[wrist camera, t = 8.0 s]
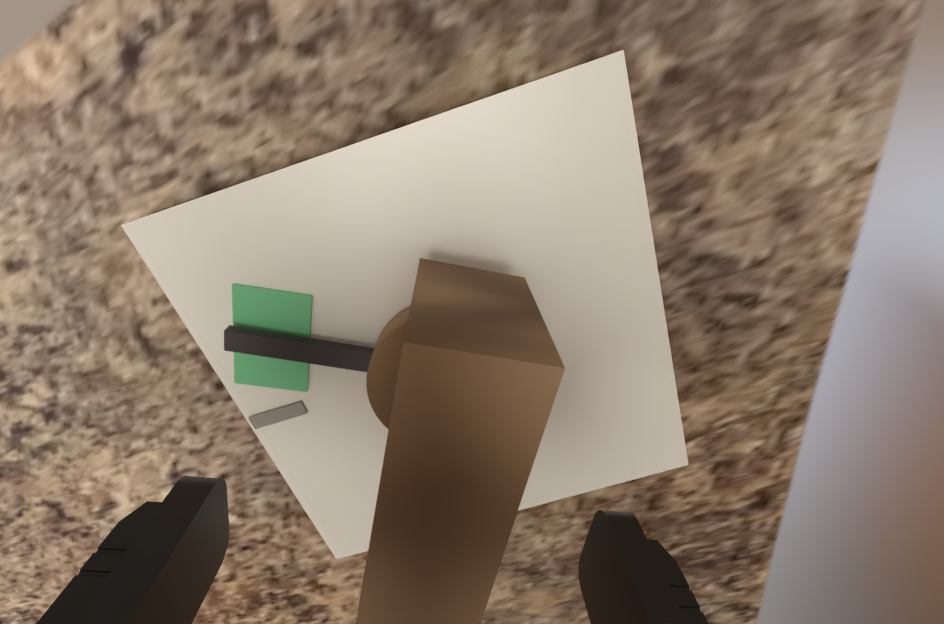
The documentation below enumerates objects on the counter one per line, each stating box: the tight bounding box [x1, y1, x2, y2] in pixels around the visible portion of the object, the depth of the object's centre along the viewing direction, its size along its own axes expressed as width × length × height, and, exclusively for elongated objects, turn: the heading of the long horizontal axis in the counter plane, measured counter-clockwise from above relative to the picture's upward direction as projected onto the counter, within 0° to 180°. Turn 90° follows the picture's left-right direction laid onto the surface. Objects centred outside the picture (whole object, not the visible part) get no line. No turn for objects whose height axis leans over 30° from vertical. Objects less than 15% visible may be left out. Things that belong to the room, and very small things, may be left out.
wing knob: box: [224, 258, 565, 624], centre depth 12 cm, size 10×8×6 cm
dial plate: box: [121, 50, 688, 559], centre depth 16 cm, size 15×15×2 cm
